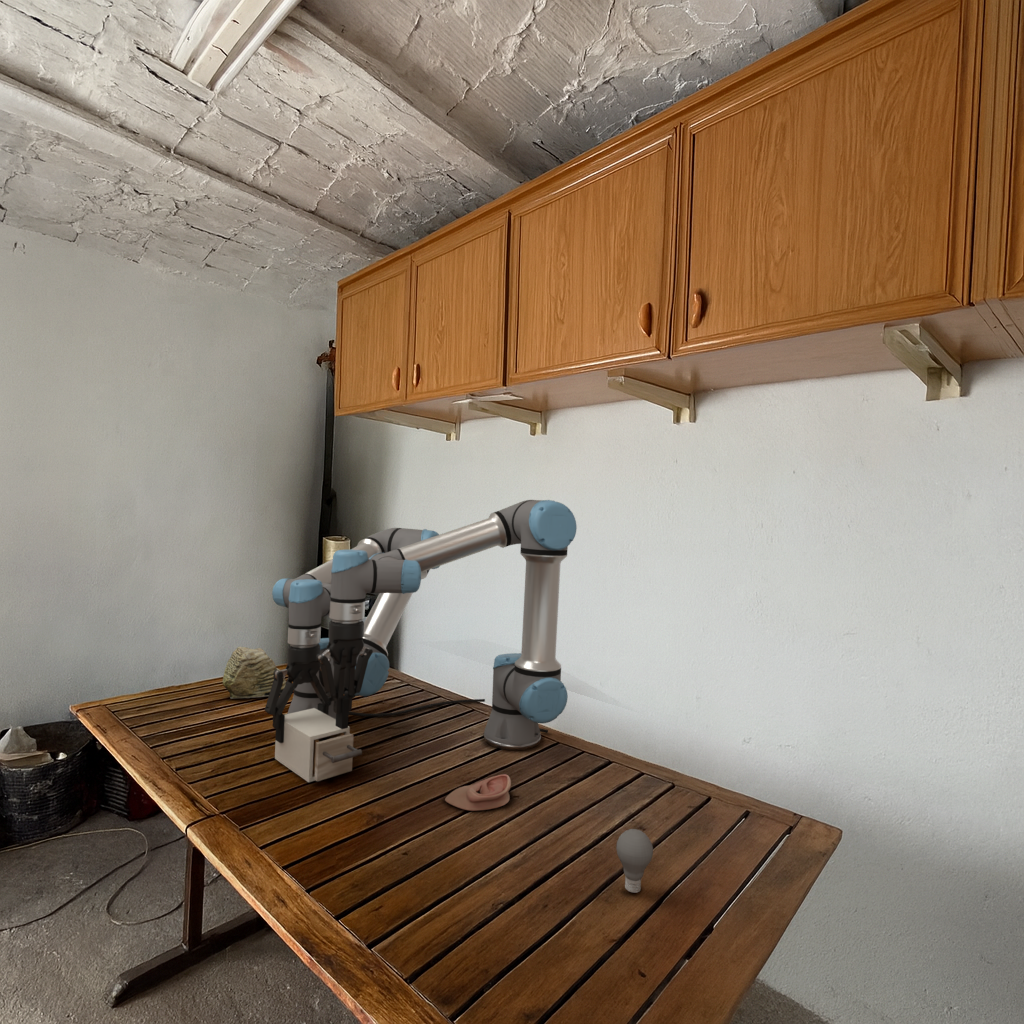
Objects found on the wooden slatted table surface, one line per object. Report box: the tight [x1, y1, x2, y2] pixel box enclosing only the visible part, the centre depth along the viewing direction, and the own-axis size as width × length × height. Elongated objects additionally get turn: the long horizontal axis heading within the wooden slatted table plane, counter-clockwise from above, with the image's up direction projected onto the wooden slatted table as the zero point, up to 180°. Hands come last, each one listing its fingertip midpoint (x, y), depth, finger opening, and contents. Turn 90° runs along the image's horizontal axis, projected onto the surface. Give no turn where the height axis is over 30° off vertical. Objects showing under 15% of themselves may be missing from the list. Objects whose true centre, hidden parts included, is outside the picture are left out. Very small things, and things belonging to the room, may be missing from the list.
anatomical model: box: [444, 773, 512, 812], centre depth 136 cm, size 13×4×12 cm
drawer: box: [313, 733, 363, 782], centre depth 145 cm, size 21×9×8 cm, turn 46°
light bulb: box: [615, 828, 654, 894], centre depth 106 cm, size 6×6×10 cm
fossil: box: [222, 646, 287, 699], centre depth 198 cm, size 9×18×15 cm, turn 132°
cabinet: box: [274, 708, 351, 783], centre depth 149 cm, size 17×10×10 cm, turn 46°
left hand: (300, 735), depth 153 cm, fingers closed on cabinet, 10 cm apart
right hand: (341, 726), depth 140 cm, fingers closed
